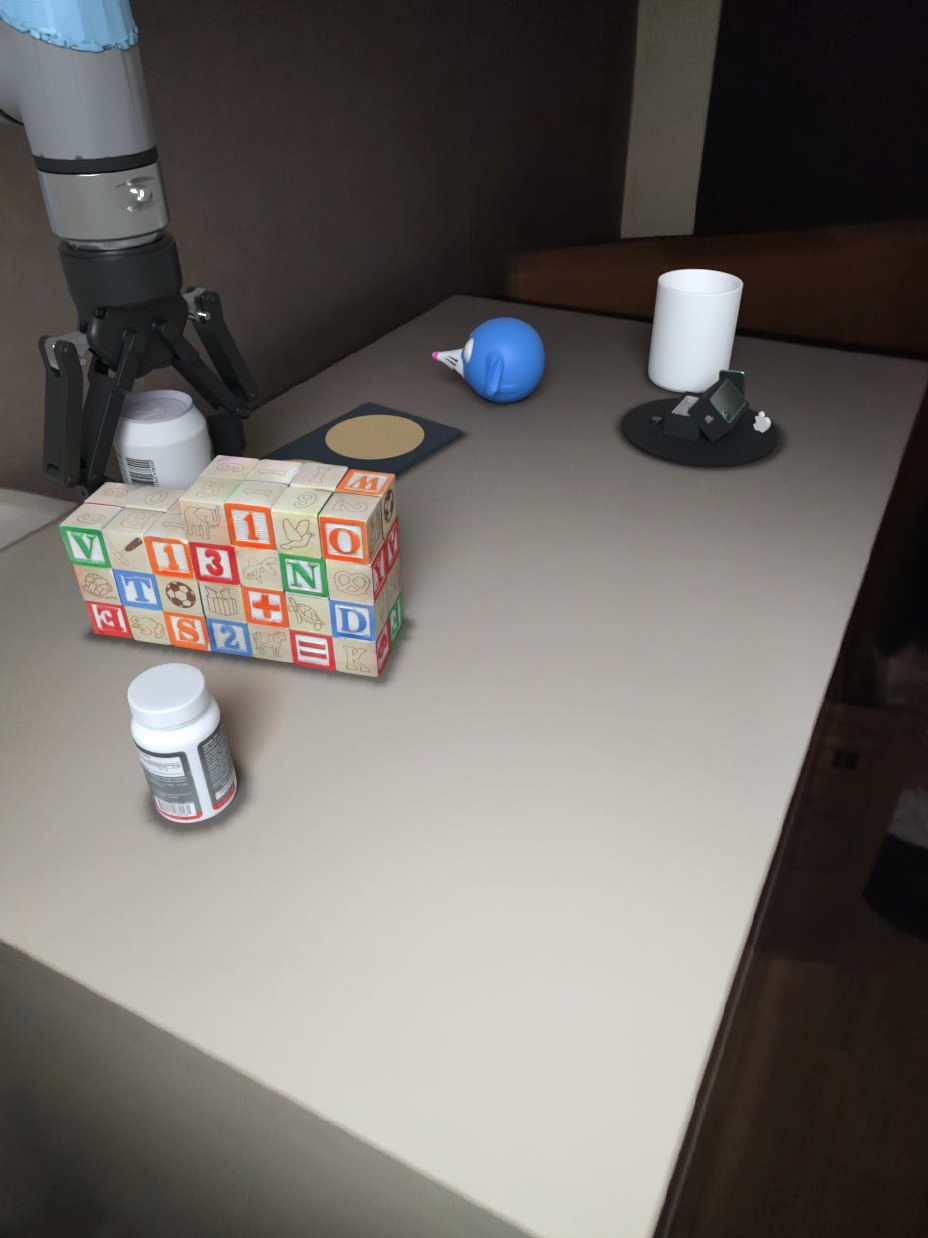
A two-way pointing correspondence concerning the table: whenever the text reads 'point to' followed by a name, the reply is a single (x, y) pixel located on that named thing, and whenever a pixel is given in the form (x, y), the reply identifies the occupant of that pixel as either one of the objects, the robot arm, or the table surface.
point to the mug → (693, 328)
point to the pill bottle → (181, 742)
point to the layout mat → (369, 441)
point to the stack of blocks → (247, 563)
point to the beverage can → (162, 440)
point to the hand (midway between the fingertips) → (180, 520)
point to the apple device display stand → (703, 426)
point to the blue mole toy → (499, 360)
